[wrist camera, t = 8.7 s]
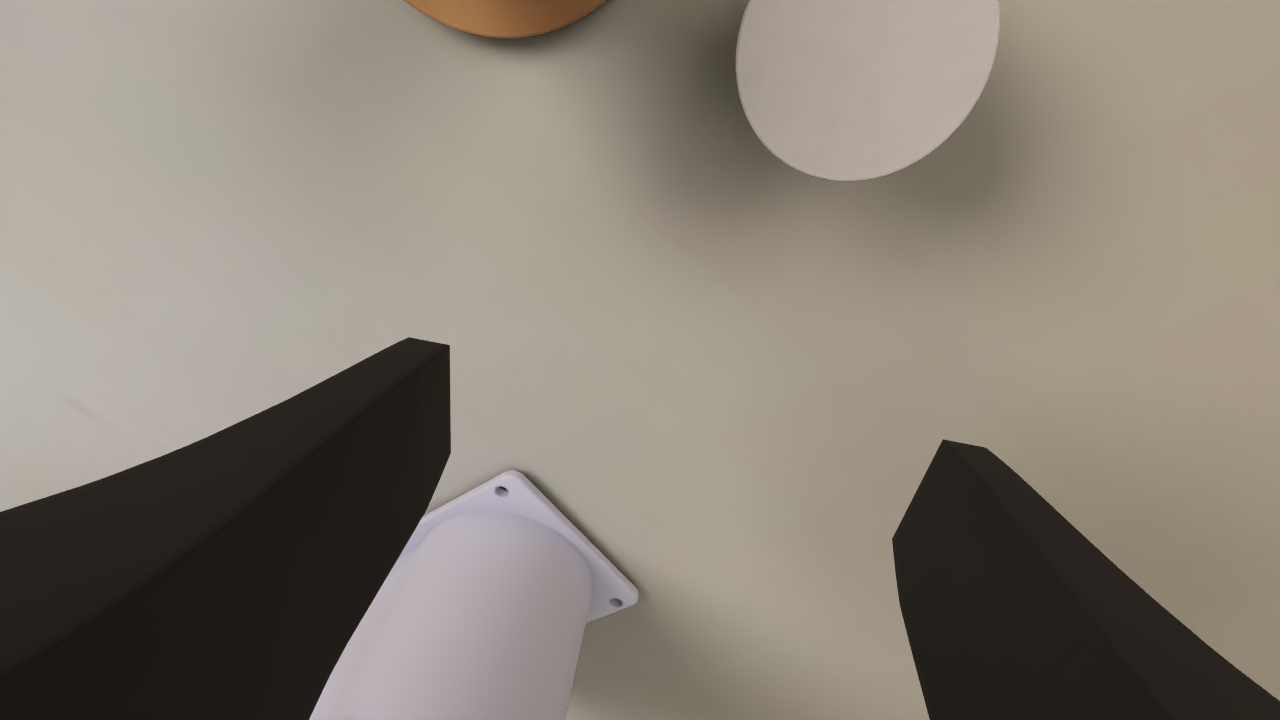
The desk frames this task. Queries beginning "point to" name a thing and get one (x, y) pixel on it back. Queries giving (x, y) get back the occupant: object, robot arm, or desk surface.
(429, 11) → the coaster
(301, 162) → the desk surface
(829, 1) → the cylinder
